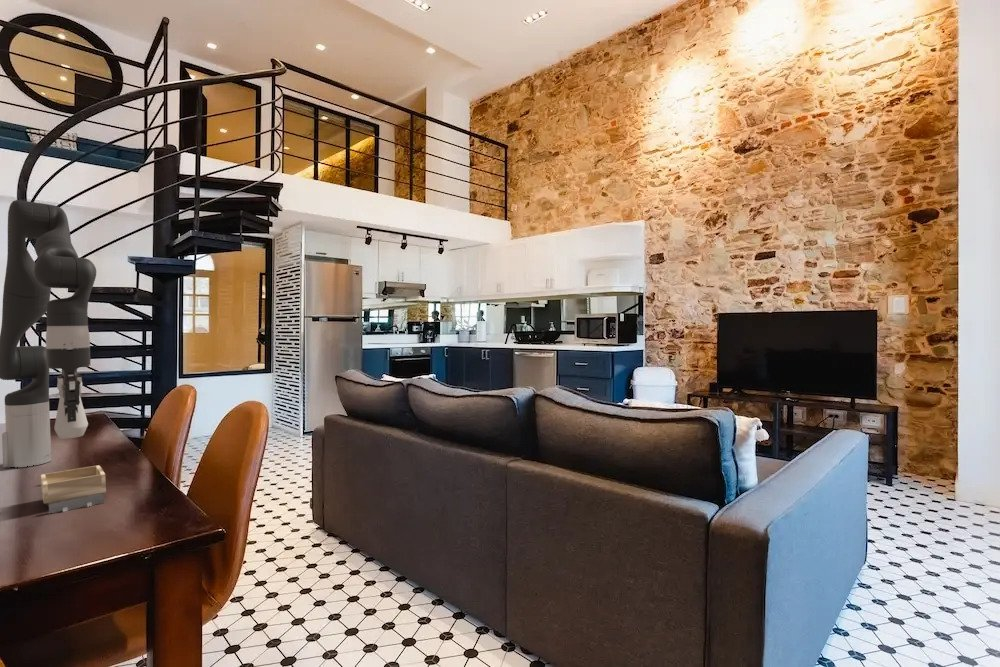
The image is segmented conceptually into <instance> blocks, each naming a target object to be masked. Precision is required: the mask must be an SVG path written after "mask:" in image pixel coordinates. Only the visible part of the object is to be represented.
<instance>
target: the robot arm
mask: <svg viewBox="0 0 1000 667" xmlns="http://www.w3.org/2000/svg"><path fill="white" fill-rule="evenodd" d="M71 238H72V237H71V230H70V225H69V220H68V217H67V213H66V212H65V210H64V209H63V208H61V207H60V206H57V205H54V204H48V203H40V202H33V201H28V200H20V199H19V200H18V199H16V200H12V202H11V203H10V205H9V207H8V212H7V258H6V269H5V277H4V282H3V284H4V285H3V292H2V294H3V295H2V307H1V308H2V309H1V310H2V311H1V312H2V313H1V314H2V315H1V327H0V379H1V380H3V381H16V380H17V381H18V380H29V379H32V380H31V382H30V383H29V384H27V385H26V386H24V387H22V388H21V389H18V390H15V391H12V392H8V393H6V395H4V416H5V419H4V420H5V431H4V432H2V433H1V444H2V446H1V447H2V450H1V451H2V468H10V467H15V468H16V469H17V467H18V468H26V467H27V466H28V467H34V466H37V465H38V466H39V465H42V464H46V463H48V462H51V461H52V446H51V445H52V442H51V441H52V440H51V417H50V416H51V415H50V413H51V412H50V369H53V370H57V369H58V370H59V369H61V375H58V376H57V384H59V385H60V390H58V391H59V392H58V394H59V397H60V396H61V397H62V398H64V404H63V407H64V408H65V416H66V414H67V415H68V422H74V421H76V411H77V413H78V406H79V403H80V401H79V396H80V397H81V395H82V388H81V386H80V383H81V382H82V383H83V378H82V375H81V374H78V369H79V368H87V367H89V366H91V340H90V338H91V337H90V332H89V319H88V317H89V315H88V306H89V300H90V296H91V293H92V289H93V287H94V284H95V281H96V277H97V269H96V266H95V264H94V263H93V261H91V260H90V259H89V258H85V257H79V255H78V253H77V251H76V249H75V248H74V245H73V244H72V240H71ZM26 239H34V240H36V241H35V243H34V251H35V255H36V256H37V257H36V258H37V259H36V262H35V261H34V259H33V257H32V256H31V254H30V252H29V250H28V249H27V247H26ZM52 289H75V292H74V293H73V295H71V296H69V297H63V298H56V299H51V291H52ZM50 299H51V300H50ZM45 314H46V333H45V346H43V345H27V346H26V345H25V346H24V345H23V346H18V345H19V342H20V340H21V339H22V337H23V336H24V334H25V333H26V332H27V331H28V330H29V329H30V328H32V327H33V325H35V324H36V323H37V322H38V321H39V320H40V319H41V318H42V317H43V316H44V315H45ZM63 382H64V387H63ZM73 396H74V397H75V400H68V397H73ZM71 410H72V412H71ZM71 414H72V415H71ZM71 417H72V418H73V419H71ZM33 465H34V466H33ZM15 468H14V469H15Z"/></svg>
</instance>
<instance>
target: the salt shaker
mask: <svg viewBox="0 0 1000 667" xmlns="http://www.w3.org/2000/svg"><path fill="white" fill-rule="evenodd" d="M80 386H81V389H82V387H83V381H82V382H81V383H80ZM56 387H57V391H59V390H60V385H59V384H58V383H57V385H56ZM63 387H64V382H63ZM58 399H59V400H58V407H57V410H56V418H55V423H54V427H53V428H54V432H55V434H56V435H57V437H58V438H59V439H63V440H65V439H73V438H79V437H83V436H84V435H85V433H86V430H87V428H88V426H89V422H88V419H87V415H86V411H85V408H84V406H83V401H82V397H81V395H80V396H79V401H80V403H79V406H78V413H77V411H76V421H74V422H68V415H67V414H66V416H65V408H64V407H63V404H64V398H62V397H61V396H60V395H59V398H58ZM68 400H75V397H74V396H73V397H68ZM71 412H72V410H71ZM71 415H72V414H71ZM71 419H73V418H72V417H71Z"/></svg>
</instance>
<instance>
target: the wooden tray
mask: <svg viewBox="0 0 1000 667" xmlns="http://www.w3.org/2000/svg"><path fill="white" fill-rule="evenodd" d="M106 485H107V484H106V473H105V472H104V470H103V468H102V467H101V466H100V464H99V465H92V466H86V467H77V468H73V469H72V468H71V469H66V470H60V471H54V472H48V473H42V474H40V487H41V488H40V491H41V496H42V503H43V505H46V506H47V507H49V503H52V502H57V501H61V500H67V499H72V498H78V497H82V496H87V495H93V494H98V493H103V494H104V493H107V492H106V491H107V486H106Z"/></svg>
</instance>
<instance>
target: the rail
mask: <svg viewBox="0 0 1000 667" xmlns="http://www.w3.org/2000/svg"><path fill="white" fill-rule="evenodd" d="M101 504H104V492H103V493H98V494H93V495H87V496H83V497H77V498H72V499H67V500H61V501H57V502H52V503H49V506H48V514H49V515H51V514H50V513H52V514H56V513H61V511H62V513H66V512H68V511H70V510H75V509H80V508H81V507H82V508H85V507H87V508H90V507H92V506H95V505H101ZM89 506H90V507H89Z"/></svg>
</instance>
